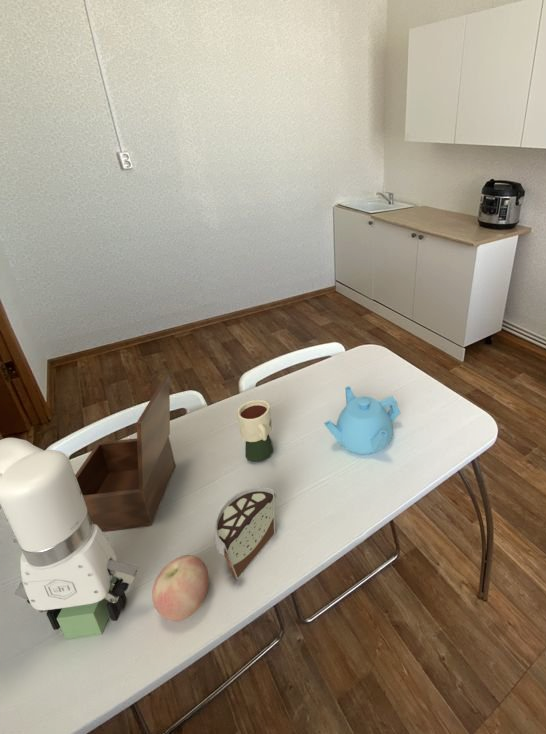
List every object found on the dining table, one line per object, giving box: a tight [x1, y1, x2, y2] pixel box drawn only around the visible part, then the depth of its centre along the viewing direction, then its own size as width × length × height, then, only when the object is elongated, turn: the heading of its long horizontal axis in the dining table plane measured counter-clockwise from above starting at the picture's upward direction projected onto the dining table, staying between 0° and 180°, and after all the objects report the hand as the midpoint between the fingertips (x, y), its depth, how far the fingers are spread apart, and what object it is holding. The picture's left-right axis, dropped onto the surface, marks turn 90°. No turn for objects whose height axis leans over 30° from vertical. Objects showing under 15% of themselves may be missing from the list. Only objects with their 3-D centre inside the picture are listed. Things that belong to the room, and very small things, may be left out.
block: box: [57, 582, 114, 640], centre depth 59 cm, size 5×5×5 cm
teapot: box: [323, 385, 401, 456], centre depth 93 cm, size 15×15×11 cm
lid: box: [136, 373, 171, 490], centre depth 75 cm, size 15×15×1 cm
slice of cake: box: [213, 486, 278, 581], centre depth 68 cm, size 12×6×10 cm, turn 149°
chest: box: [75, 435, 176, 533], centre depth 78 cm, size 15×15×9 cm
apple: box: [151, 554, 210, 622], centre depth 60 cm, size 8×8×8 cm
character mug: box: [236, 399, 274, 463], centre depth 88 cm, size 11×7×13 cm, turn 37°
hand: (91, 613), depth 59 cm, fingers open, 7 cm apart
